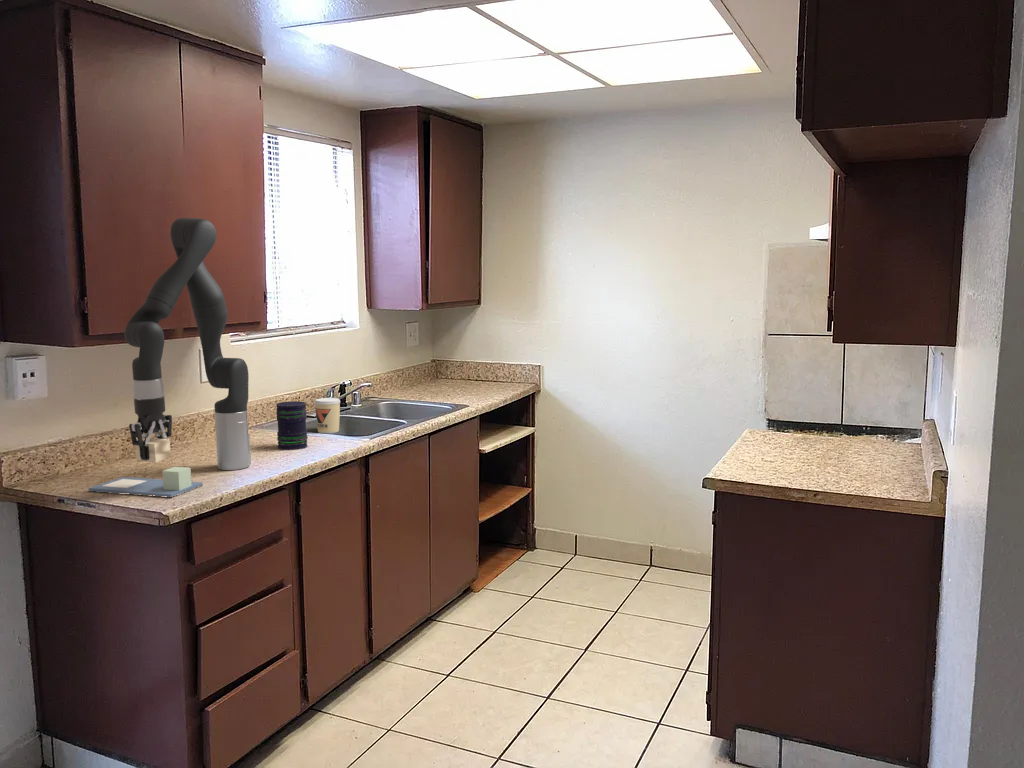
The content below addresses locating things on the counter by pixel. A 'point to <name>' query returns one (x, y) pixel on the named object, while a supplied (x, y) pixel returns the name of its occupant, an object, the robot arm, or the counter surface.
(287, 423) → the storage jar
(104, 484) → the board
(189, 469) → the sage block
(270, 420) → the counter surface
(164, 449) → the maple block
